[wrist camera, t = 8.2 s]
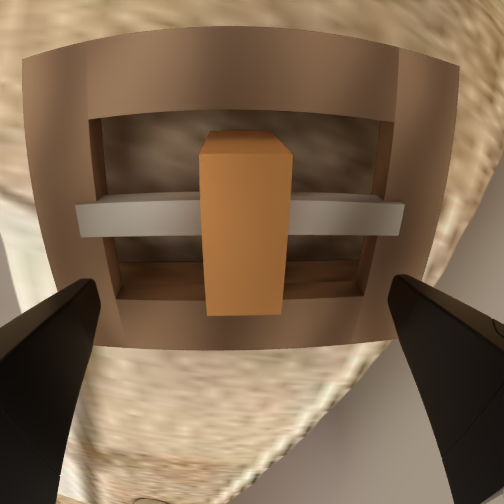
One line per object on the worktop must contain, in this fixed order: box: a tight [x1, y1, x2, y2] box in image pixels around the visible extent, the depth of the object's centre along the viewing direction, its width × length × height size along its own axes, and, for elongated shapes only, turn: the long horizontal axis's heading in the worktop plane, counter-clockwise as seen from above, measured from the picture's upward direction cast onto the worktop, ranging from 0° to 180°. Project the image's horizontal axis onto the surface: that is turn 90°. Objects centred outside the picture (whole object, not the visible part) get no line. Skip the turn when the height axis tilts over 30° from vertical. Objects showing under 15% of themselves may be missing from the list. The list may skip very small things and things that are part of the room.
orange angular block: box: [199, 130, 293, 316], centre depth 14 cm, size 3×6×6 cm, turn 179°
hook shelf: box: [22, 26, 460, 350], centre depth 17 cm, size 20×16×7 cm
